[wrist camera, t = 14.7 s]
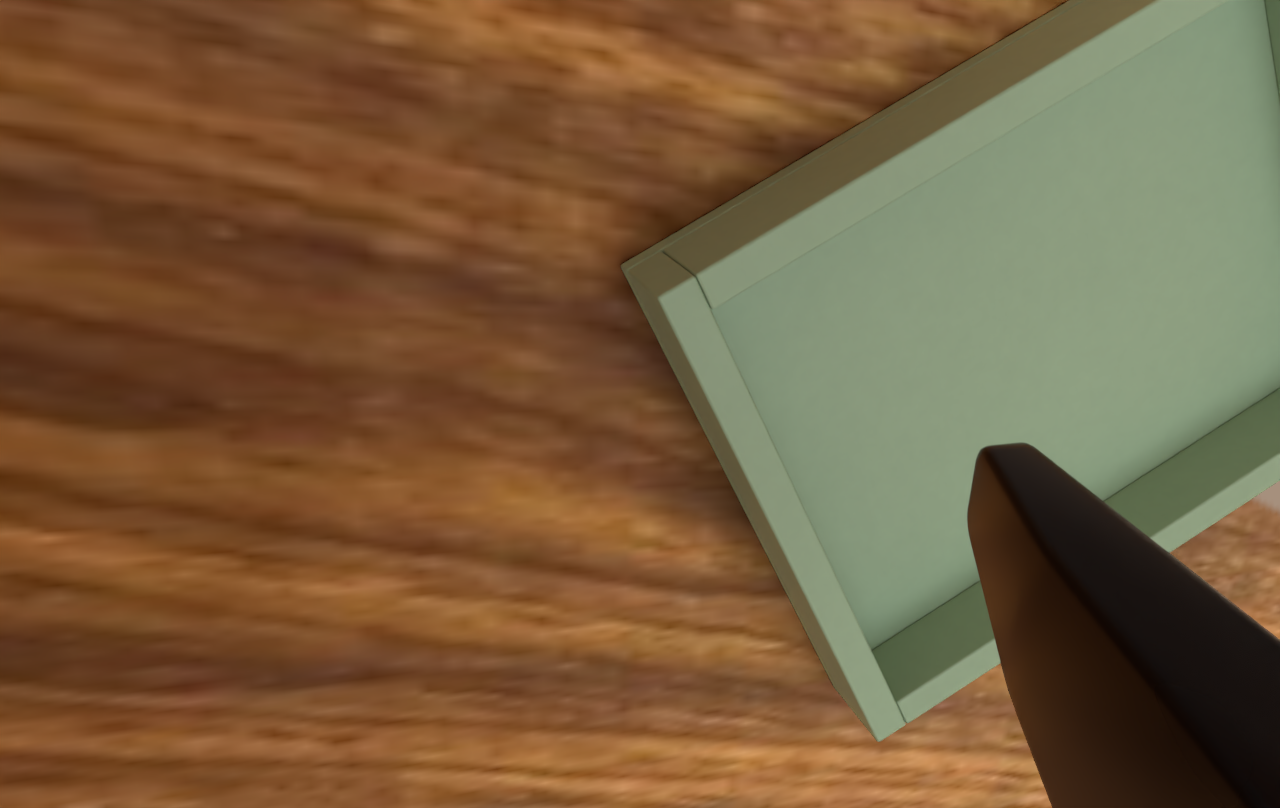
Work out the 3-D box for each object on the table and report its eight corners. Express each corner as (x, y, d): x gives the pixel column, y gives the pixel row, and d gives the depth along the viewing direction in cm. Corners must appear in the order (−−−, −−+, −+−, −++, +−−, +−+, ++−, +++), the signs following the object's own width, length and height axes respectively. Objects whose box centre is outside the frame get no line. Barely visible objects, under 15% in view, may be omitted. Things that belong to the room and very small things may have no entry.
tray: (833, 687, 28) (878, 744, 26) (618, 264, 22) (657, 297, 20) (1333, 365, 29) (1411, 396, 27) (1264, -116, 23) (1357, -120, 21)
